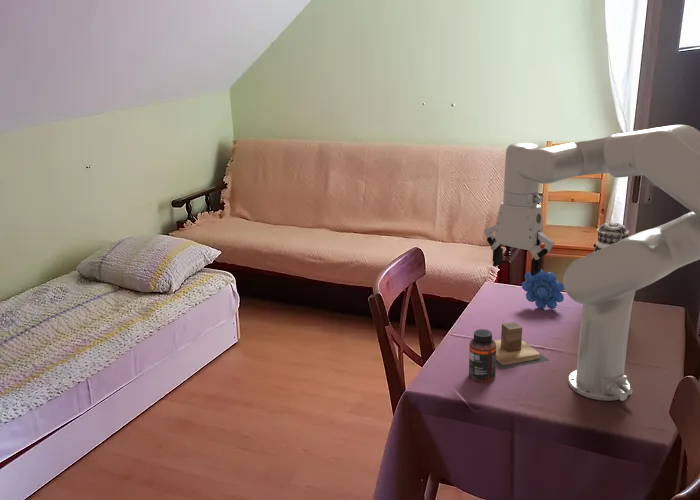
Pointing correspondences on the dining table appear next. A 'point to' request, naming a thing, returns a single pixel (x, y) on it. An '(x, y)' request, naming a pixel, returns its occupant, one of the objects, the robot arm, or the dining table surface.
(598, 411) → the dining table surface
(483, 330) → the supplement bottle
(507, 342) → the oak lid
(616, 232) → the decorative candle
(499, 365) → the dark gray mat
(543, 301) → the blue flower shape
